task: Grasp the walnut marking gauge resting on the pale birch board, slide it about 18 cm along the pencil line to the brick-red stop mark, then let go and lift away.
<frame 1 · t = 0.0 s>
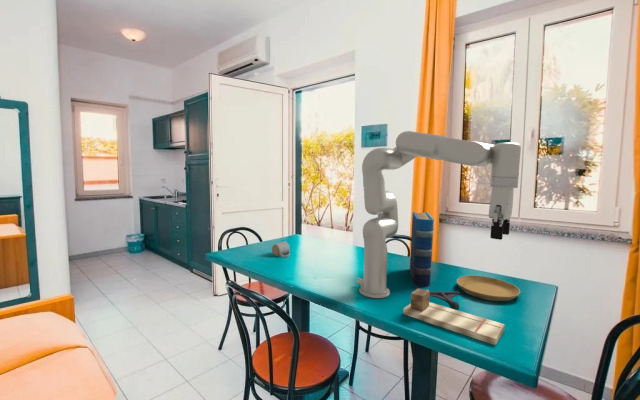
hand: (499, 236, 102), 31 cm above the table, tool pointing down, fingers open, 9 cm apart
board: (451, 321, 111), on the table
plant saucer: (486, 292, 138), on the table
bracket: (448, 302, 128), on the table
ceramic mug: (282, 256, 188), on the table
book: (421, 278, 154), on the table
gauge: (422, 298, 118), point 5 cm above the table, slide at 0.0 cm
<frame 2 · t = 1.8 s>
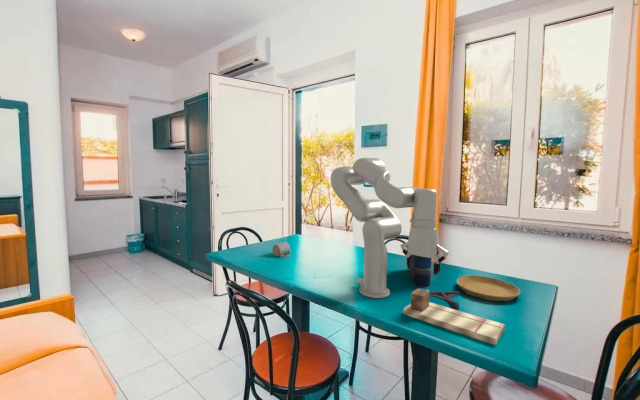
hand: (422, 270, 115), 16 cm above the table, tool pointing down, fingers open, 9 cm apart
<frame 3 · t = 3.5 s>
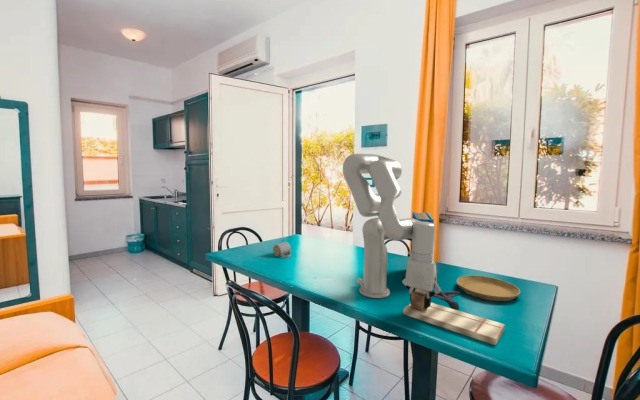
hand: (420, 305, 117), 3 cm above the table, tool pointing down, fingers closed on gauge, 4 cm apart
gauge: (422, 298, 118), point 5 cm above the table, slide at 0.0 cm, touching gripper
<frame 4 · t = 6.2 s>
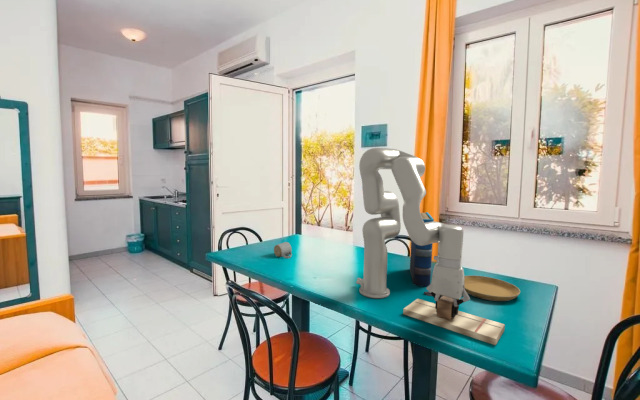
hand: (446, 313, 111), 3 cm above the table, tool pointing down, fingers closed on gauge, 4 cm apart
gauge: (448, 305, 112), point 5 cm above the table, slide at 9.5 cm, touching gripper
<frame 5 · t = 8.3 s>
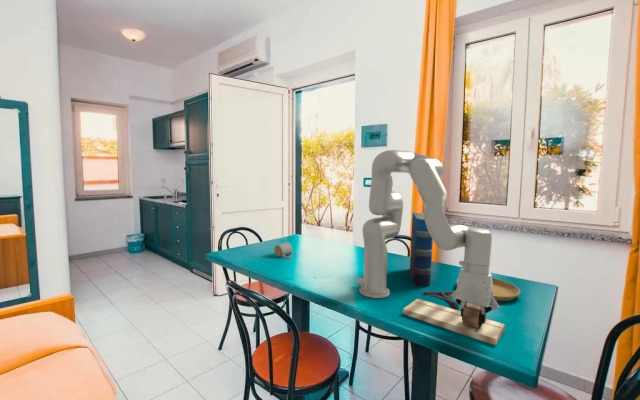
hand: (472, 321, 105), 3 cm above the table, tool pointing down, fingers closed on gauge, 4 cm apart
gauge: (474, 313, 106), point 5 cm above the table, slide at 17.9 cm, touching gripper
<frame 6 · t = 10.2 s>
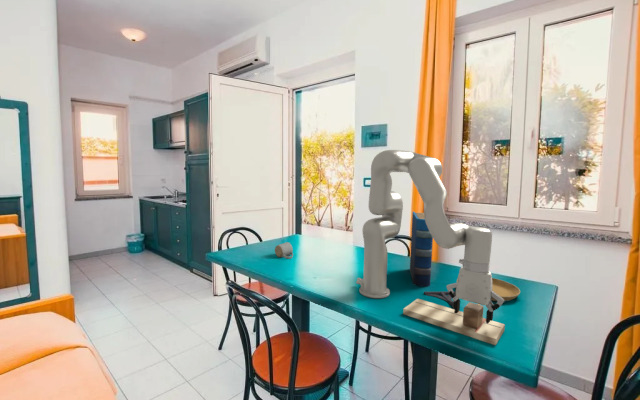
hand: (472, 316, 105), 4 cm above the table, tool pointing down, fingers open, 9 cm apart
gauge: (474, 313, 106), point 5 cm above the table, slide at 18.0 cm
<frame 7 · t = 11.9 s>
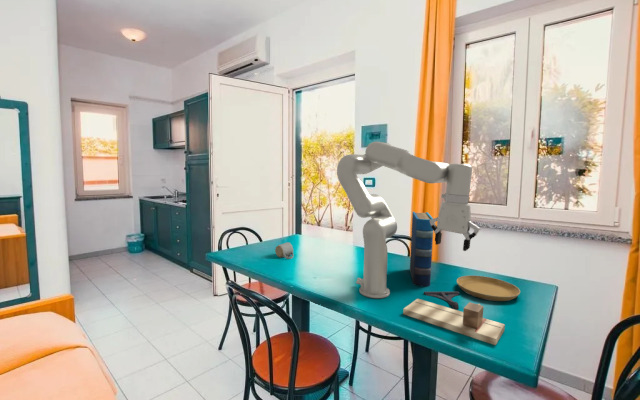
hand: (451, 247, 114), 25 cm above the table, tool pointing down, fingers open, 9 cm apart
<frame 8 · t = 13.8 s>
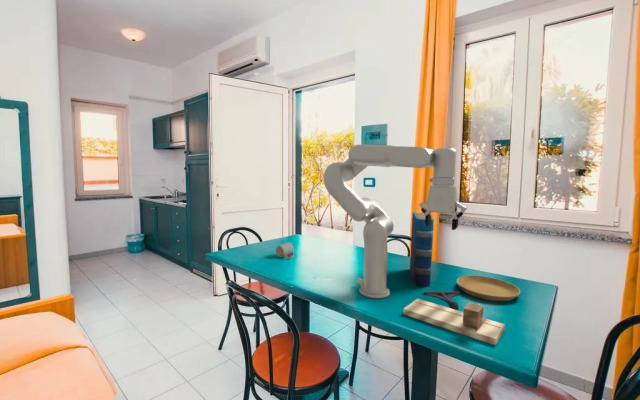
hand: (440, 227, 121), 30 cm above the table, tool pointing down, fingers open, 9 cm apart
at the end: gauge slide at 18.0 cm; the gripper is holding nothing; bracket moved 0.9 cm from its start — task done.
